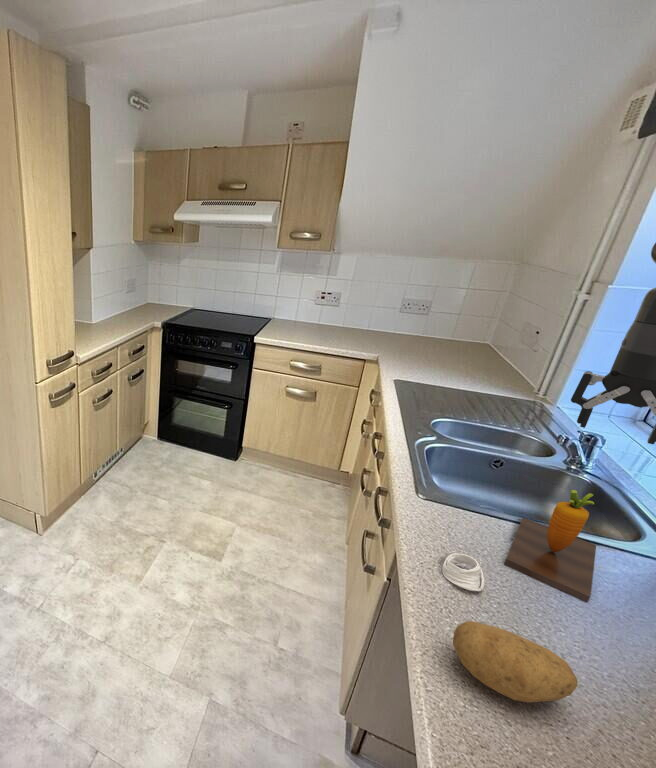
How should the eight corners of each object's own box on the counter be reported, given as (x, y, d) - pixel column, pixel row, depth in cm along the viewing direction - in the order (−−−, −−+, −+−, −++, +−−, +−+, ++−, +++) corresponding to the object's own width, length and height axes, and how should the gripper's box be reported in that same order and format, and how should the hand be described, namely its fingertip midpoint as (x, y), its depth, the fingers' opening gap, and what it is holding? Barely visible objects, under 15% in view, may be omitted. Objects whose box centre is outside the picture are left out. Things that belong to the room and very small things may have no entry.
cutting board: (520, 522, 96) (522, 516, 96) (593, 550, 88) (596, 545, 87) (503, 564, 84) (506, 558, 83) (587, 602, 75) (590, 596, 75)
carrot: (565, 548, 86) (594, 488, 81) (573, 564, 82) (604, 501, 77) (534, 540, 88) (560, 480, 83) (540, 554, 84) (568, 493, 79)
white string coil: (485, 603, 76) (497, 586, 73) (443, 587, 78) (453, 569, 76) (476, 571, 82) (487, 554, 80) (437, 557, 85) (447, 540, 82)
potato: (577, 740, 55) (601, 700, 52) (449, 689, 60) (465, 650, 58) (549, 674, 63) (569, 636, 60) (439, 634, 69) (453, 598, 66)
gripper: (719, 354, 68) (674, 442, 73) (596, 338, 78) (564, 416, 83) (724, 363, 63) (676, 456, 69) (592, 344, 73) (559, 426, 79)
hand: (615, 434), depth 76 cm, fingers open, 8 cm apart
